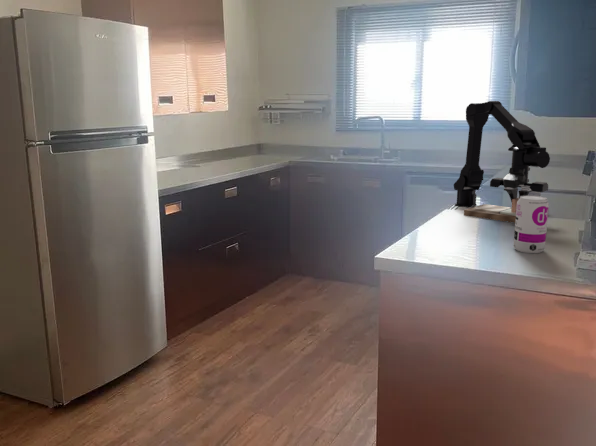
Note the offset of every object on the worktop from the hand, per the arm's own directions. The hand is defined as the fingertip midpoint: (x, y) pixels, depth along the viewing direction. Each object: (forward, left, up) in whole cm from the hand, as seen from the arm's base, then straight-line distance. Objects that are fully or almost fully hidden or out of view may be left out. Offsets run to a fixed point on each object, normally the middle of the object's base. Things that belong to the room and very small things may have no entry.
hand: (516, 208), depth 209 cm
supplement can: (+21, -41, -4) cm, 46 cm away
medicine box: (-2, +19, -4) cm, 19 cm away
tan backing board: (-5, 0, -3) cm, 6 cm away
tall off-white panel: (0, 0, -1) cm, 1 cm away
